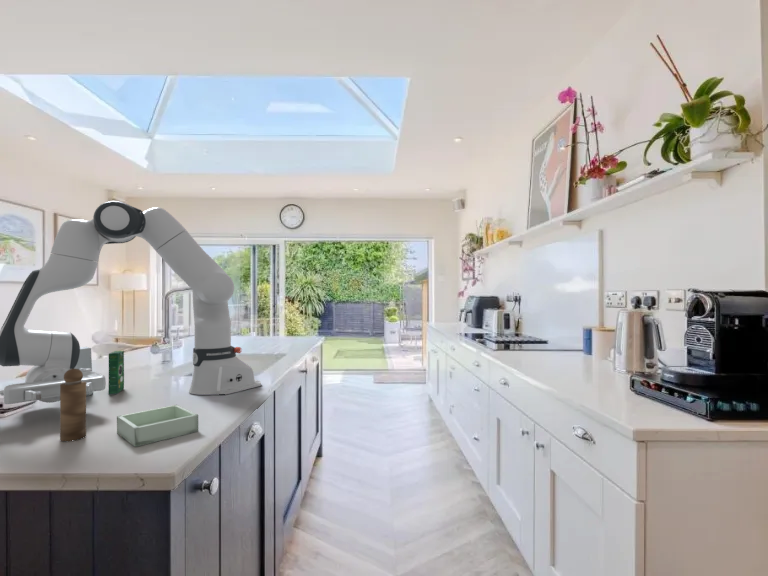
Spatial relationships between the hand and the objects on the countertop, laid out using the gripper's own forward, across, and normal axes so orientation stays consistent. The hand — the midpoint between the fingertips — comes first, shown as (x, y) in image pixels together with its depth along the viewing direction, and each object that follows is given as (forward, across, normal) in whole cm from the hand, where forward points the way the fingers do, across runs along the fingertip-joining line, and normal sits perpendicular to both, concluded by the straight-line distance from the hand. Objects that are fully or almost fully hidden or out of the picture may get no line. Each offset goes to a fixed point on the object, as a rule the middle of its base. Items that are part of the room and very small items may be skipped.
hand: (62, 392), depth 100 cm
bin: (+22, +14, +8) cm, 27 cm away
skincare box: (-36, +10, +8) cm, 38 cm away
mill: (+12, 0, +8) cm, 14 cm away
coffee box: (-31, +19, +8) cm, 37 cm away
